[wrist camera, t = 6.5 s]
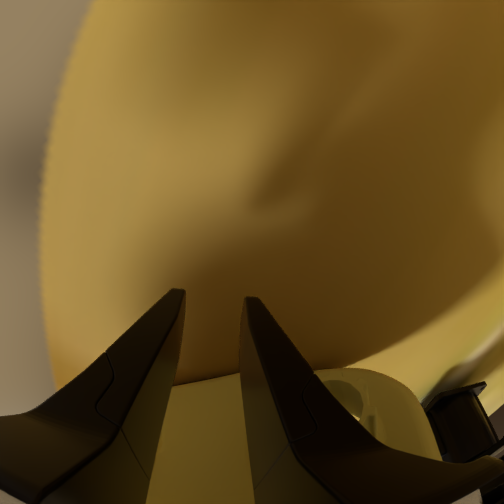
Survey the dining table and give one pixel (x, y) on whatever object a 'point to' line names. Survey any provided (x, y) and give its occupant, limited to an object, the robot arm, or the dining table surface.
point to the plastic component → (235, 439)
